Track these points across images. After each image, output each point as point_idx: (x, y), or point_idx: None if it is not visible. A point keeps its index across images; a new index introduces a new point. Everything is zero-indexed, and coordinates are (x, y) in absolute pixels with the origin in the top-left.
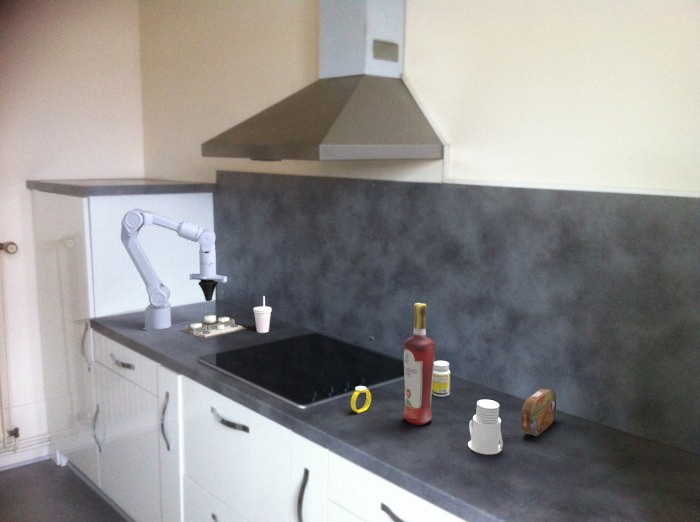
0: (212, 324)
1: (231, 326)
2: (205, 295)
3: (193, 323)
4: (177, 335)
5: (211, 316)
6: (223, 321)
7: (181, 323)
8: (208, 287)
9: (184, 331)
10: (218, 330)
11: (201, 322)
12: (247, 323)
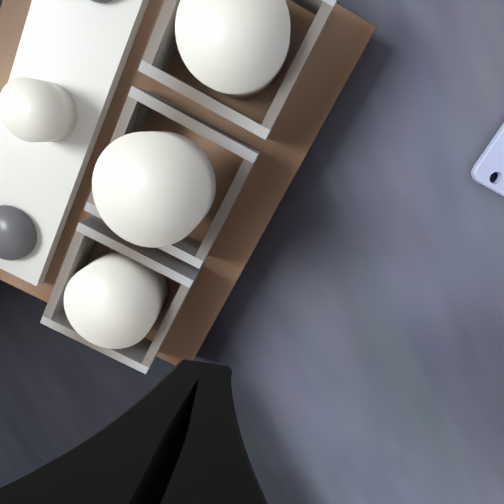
0: (119, 133)
1: (16, 209)
2: (205, 402)
3: (270, 56)
4: (397, 20)
5: (127, 184)
6: (94, 261)
7: (498, 353)
8: (22, 496)
9: (339, 17)
10: (51, 79)
11: (246, 176)
12: (77, 428)
